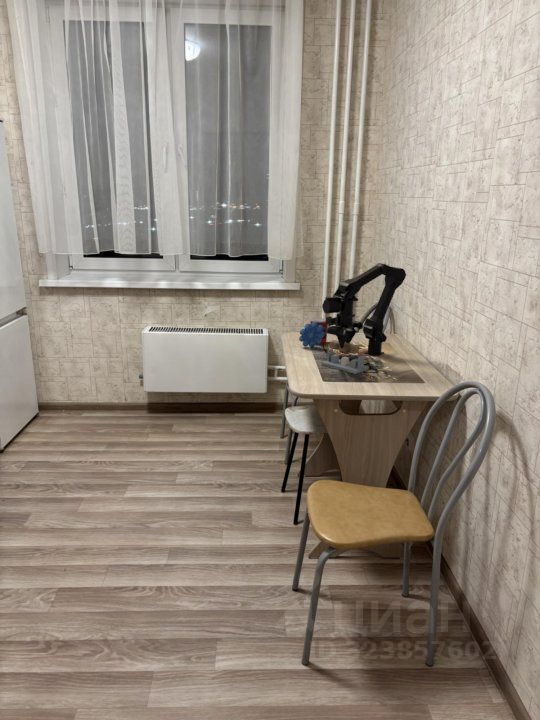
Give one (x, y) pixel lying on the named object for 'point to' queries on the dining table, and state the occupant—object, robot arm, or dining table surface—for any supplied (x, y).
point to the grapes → (311, 334)
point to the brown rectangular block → (344, 347)
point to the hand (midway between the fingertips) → (344, 347)
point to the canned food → (323, 322)
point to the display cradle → (345, 363)
